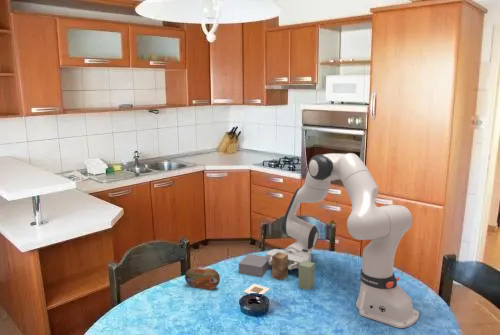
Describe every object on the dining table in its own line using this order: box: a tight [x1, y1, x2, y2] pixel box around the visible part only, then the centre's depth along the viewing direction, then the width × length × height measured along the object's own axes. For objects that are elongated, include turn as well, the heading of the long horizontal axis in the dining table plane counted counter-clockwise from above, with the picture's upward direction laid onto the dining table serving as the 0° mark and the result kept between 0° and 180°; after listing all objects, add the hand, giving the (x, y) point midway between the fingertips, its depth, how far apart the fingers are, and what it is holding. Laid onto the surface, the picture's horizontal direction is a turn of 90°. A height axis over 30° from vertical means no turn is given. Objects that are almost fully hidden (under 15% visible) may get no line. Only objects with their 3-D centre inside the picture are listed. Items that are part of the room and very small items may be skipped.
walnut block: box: [271, 252, 289, 281], centre depth 182 cm, size 5×5×10 cm
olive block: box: [297, 261, 316, 291], centre depth 173 cm, size 5×5×10 cm
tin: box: [184, 266, 221, 291], centre depth 174 cm, size 15×3×8 cm, turn 73°
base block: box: [238, 253, 271, 278], centre depth 189 cm, size 11×11×5 cm
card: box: [243, 283, 271, 295], centre depth 171 cm, size 8×8×1 cm
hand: (279, 265), depth 181 cm, fingers open, 8 cm apart
